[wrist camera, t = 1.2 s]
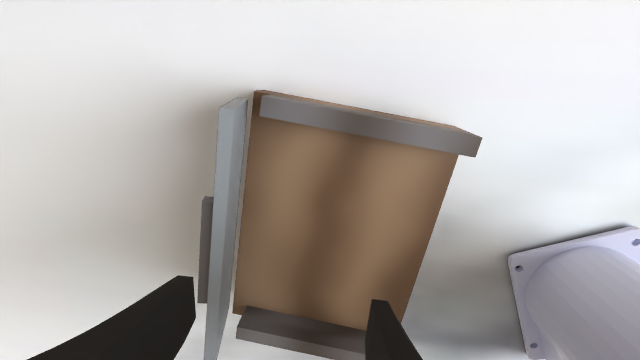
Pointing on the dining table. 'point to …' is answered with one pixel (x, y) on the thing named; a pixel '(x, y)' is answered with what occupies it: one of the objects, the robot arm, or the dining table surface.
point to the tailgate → (221, 224)
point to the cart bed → (335, 219)
